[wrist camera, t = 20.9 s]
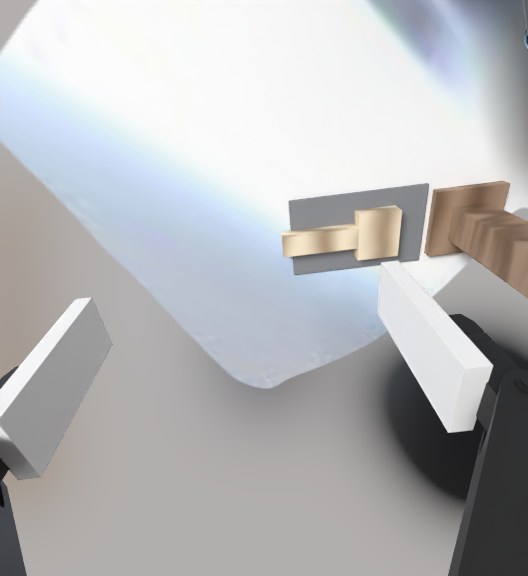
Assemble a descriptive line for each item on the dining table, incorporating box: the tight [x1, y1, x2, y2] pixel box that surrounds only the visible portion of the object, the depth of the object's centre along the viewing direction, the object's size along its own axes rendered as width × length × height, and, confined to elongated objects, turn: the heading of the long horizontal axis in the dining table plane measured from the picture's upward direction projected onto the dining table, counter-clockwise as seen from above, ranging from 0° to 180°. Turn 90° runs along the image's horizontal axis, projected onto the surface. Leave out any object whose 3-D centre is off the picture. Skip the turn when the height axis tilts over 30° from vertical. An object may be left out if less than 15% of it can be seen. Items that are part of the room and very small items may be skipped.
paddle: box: [281, 205, 402, 261], centre depth 49 cm, size 17×7×2 cm, turn 96°
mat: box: [289, 183, 429, 275], centre depth 51 cm, size 20×12×1 cm, turn 96°
